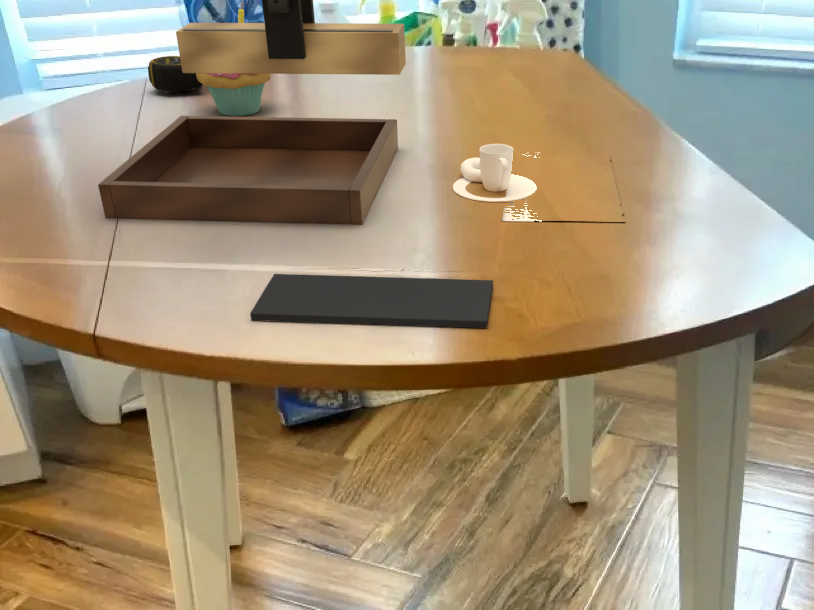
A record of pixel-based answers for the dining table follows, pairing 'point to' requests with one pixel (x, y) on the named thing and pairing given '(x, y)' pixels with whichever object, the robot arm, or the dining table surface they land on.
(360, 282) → the mat
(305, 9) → the robot arm
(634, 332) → the dining table surface
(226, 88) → the cupcake
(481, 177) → the teacup and saucer
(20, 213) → the dining table surface
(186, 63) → the grooved wooden beam
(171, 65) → the tape measure
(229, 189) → the box
